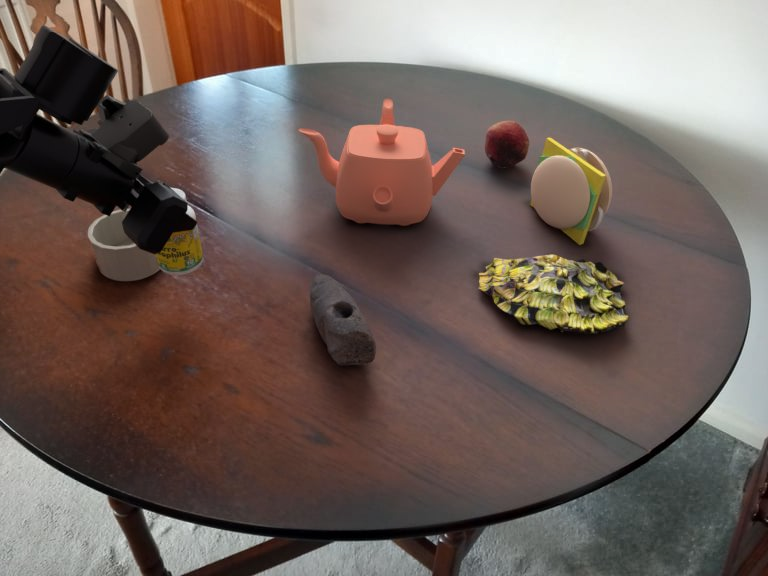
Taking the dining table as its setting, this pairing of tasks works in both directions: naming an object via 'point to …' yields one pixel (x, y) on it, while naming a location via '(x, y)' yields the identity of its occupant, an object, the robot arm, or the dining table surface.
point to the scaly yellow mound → (556, 293)
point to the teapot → (384, 172)
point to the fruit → (506, 144)
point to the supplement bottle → (181, 249)
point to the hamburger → (571, 189)
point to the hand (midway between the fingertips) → (182, 214)
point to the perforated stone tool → (341, 323)
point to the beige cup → (119, 250)
